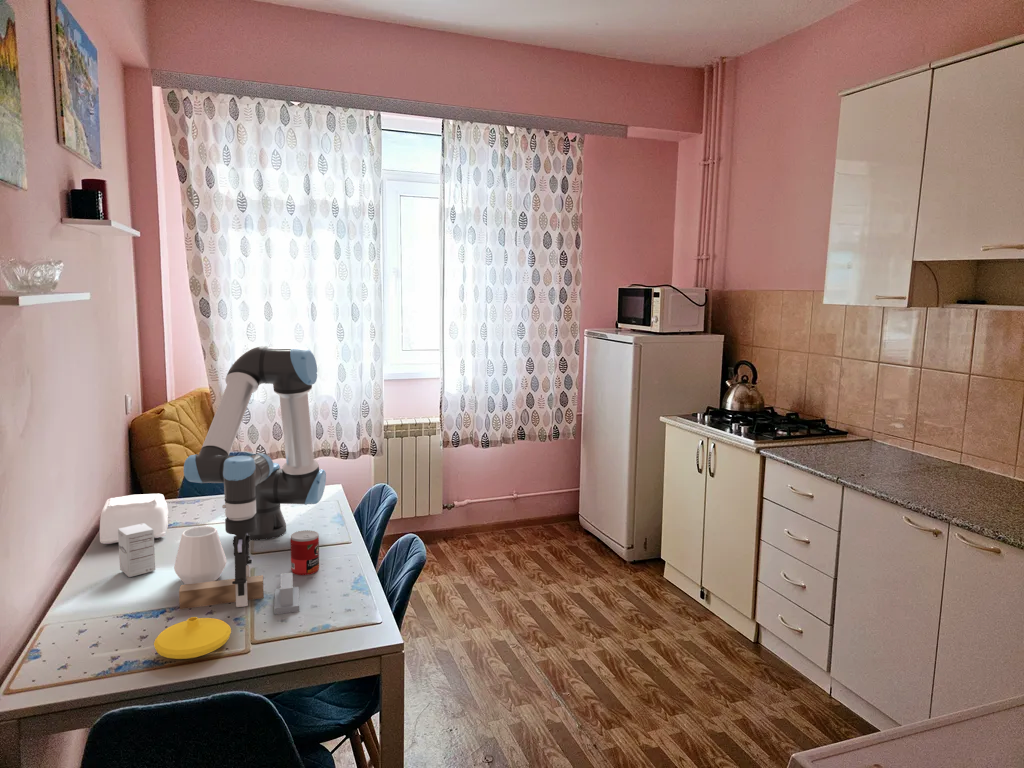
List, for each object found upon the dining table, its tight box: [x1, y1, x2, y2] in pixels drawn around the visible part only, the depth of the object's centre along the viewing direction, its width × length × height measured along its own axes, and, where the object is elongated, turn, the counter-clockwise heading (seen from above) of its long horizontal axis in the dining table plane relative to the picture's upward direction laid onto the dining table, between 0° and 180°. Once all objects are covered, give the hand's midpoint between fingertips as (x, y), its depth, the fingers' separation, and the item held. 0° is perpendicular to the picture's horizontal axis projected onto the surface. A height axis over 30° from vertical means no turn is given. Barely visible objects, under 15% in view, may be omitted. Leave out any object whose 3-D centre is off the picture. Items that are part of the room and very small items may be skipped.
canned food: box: [290, 530, 320, 576], centre depth 193 cm, size 8×8×11 cm
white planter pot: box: [173, 525, 228, 585], centre depth 186 cm, size 13×13×14 cm
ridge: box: [273, 572, 300, 615], centre depth 173 cm, size 12×6×6 cm, turn 18°
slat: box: [178, 574, 265, 610], centre depth 173 cm, size 20×4×5 cm, turn 111°
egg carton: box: [99, 493, 169, 545], centre depth 224 cm, size 19×30×13 cm, turn 26°
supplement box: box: [118, 523, 156, 578], centre depth 190 cm, size 7×7×13 cm
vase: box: [153, 616, 232, 660], centre depth 149 cm, size 16×16×7 cm
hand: (243, 597), depth 175 cm, fingers open, 10 cm apart
